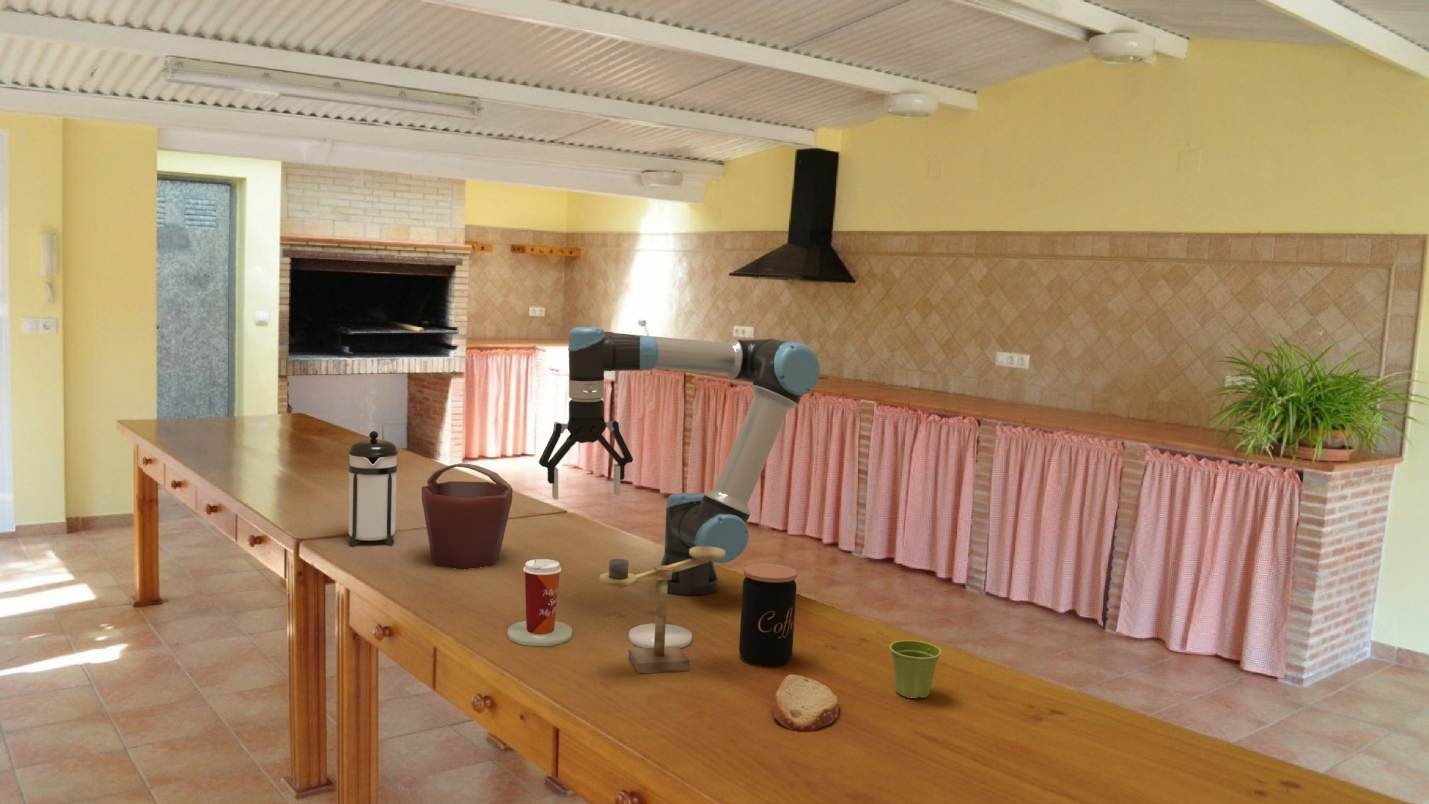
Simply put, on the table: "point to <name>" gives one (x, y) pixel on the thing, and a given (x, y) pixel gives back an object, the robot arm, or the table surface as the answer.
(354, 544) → the coffee press
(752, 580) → the coffee jar
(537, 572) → the paper cup
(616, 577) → the balance
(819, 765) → the table surface
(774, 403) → the robot arm
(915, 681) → the plant pot
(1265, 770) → the table surface
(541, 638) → the sage dish
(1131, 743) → the table surface
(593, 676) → the table surface
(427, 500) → the bucket
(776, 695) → the bread slice
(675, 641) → the white dish
